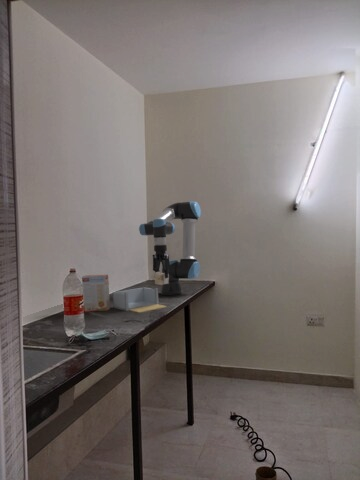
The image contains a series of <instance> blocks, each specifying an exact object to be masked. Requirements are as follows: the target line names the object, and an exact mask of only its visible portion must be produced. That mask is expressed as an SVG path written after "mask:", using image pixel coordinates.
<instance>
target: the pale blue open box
mask: <svg viewBox="0 0 360 480" xmlns="http://www.w3.org/2000/svg"><path fill="white" fill-rule="evenodd" d="M112 302H113V303H112V305H113V308H112V309H118V310H120V311H121V310H122V311H125V312H128V311H130V309H135V308H140V307H145V306H151V305H156V304H158V305H160V304H159V302H160V301H159V289H158V287H154V288H150V287H138V288H133V289H132V288H131V289H125V290H120V291H119V290H118V291H113V292H112Z"/></svg>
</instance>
